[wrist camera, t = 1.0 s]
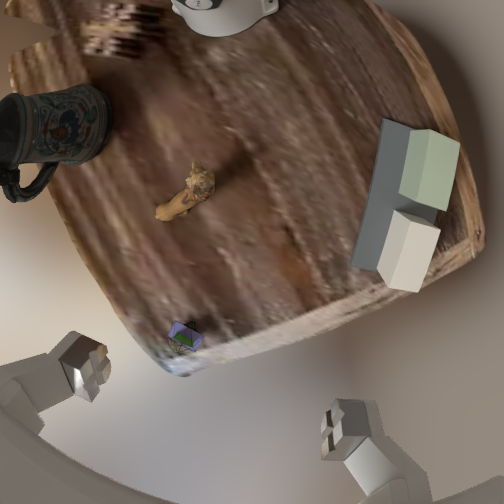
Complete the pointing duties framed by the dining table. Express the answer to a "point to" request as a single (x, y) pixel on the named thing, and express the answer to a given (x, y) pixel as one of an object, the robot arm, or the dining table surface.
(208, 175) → the lion figurine
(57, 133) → the beer stein
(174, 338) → the geometric puzzle
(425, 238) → the beige eraser-shaped brick
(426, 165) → the pale green prism
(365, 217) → the slate board
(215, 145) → the dining table surface
